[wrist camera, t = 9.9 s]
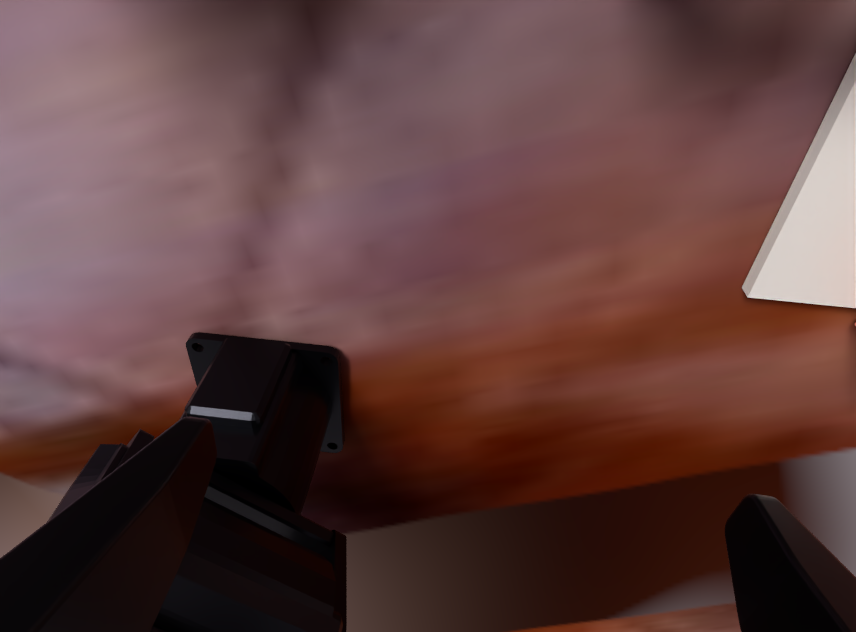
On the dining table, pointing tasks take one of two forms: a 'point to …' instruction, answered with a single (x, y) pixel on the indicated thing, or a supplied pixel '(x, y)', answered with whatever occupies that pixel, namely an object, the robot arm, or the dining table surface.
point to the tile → (816, 218)
